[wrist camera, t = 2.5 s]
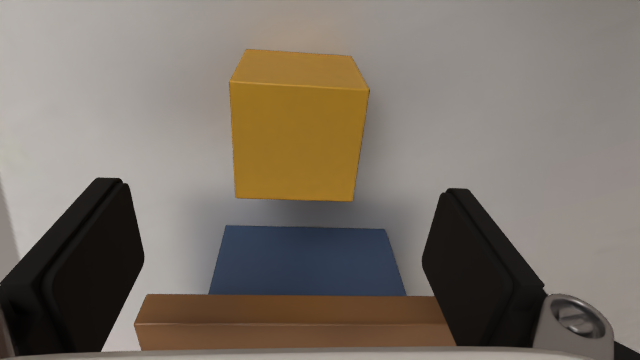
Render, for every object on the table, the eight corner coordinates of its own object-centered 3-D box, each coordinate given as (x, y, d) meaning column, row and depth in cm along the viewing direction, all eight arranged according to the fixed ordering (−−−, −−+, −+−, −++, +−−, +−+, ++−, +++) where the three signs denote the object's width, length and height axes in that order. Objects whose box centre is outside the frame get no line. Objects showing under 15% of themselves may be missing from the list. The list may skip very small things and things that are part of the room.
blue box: (225, 224, 22) (200, 323, 16) (385, 228, 23) (416, 323, 17) (236, 372, 31) (222, 473, 25) (353, 371, 31) (366, 468, 26)
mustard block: (245, 48, 17) (228, 80, 13) (351, 55, 17) (370, 89, 13) (248, 145, 19) (235, 198, 15) (340, 149, 20) (352, 202, 16)
